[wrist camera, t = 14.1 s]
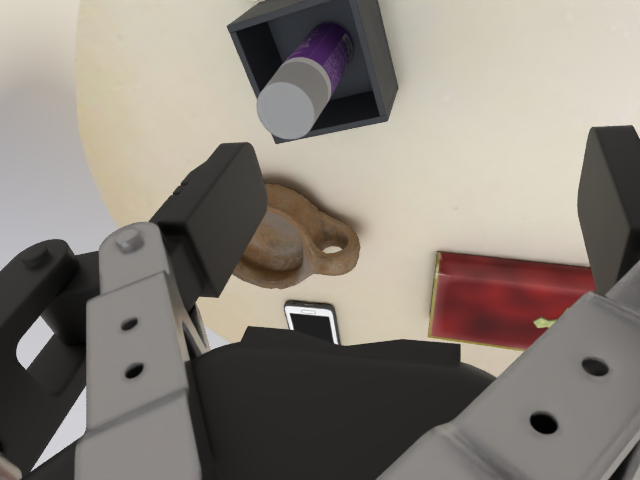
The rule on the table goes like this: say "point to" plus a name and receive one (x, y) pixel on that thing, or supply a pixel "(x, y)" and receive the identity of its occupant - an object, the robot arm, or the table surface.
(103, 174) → the table surface
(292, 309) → the cell phone
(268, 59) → the bin
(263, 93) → the container
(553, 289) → the hardcover book
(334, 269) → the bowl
